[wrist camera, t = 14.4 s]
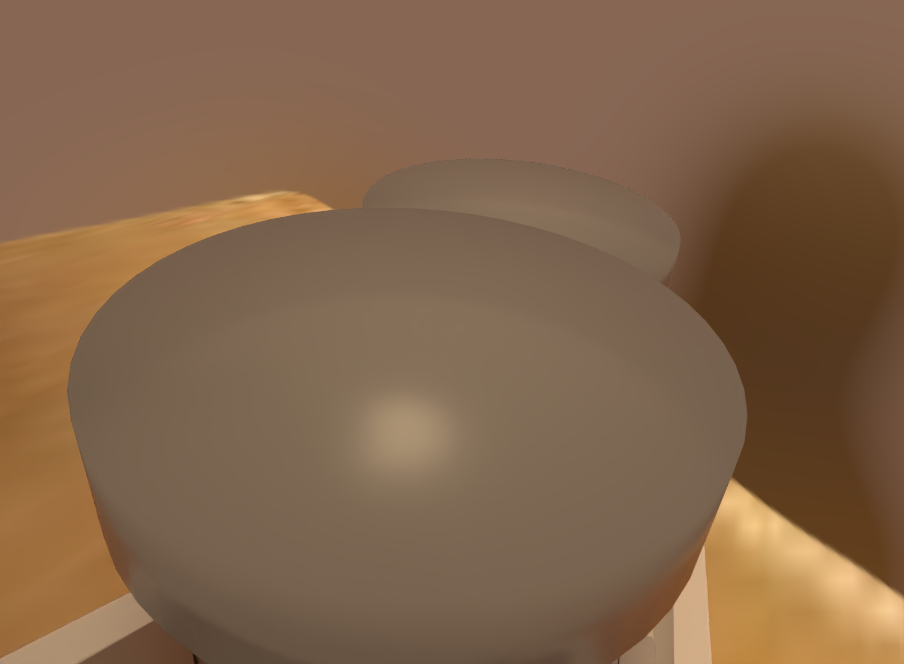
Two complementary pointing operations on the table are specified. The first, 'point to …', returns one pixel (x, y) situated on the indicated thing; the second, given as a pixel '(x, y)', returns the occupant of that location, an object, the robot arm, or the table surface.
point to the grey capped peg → (541, 205)
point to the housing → (686, 624)
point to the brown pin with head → (403, 442)
